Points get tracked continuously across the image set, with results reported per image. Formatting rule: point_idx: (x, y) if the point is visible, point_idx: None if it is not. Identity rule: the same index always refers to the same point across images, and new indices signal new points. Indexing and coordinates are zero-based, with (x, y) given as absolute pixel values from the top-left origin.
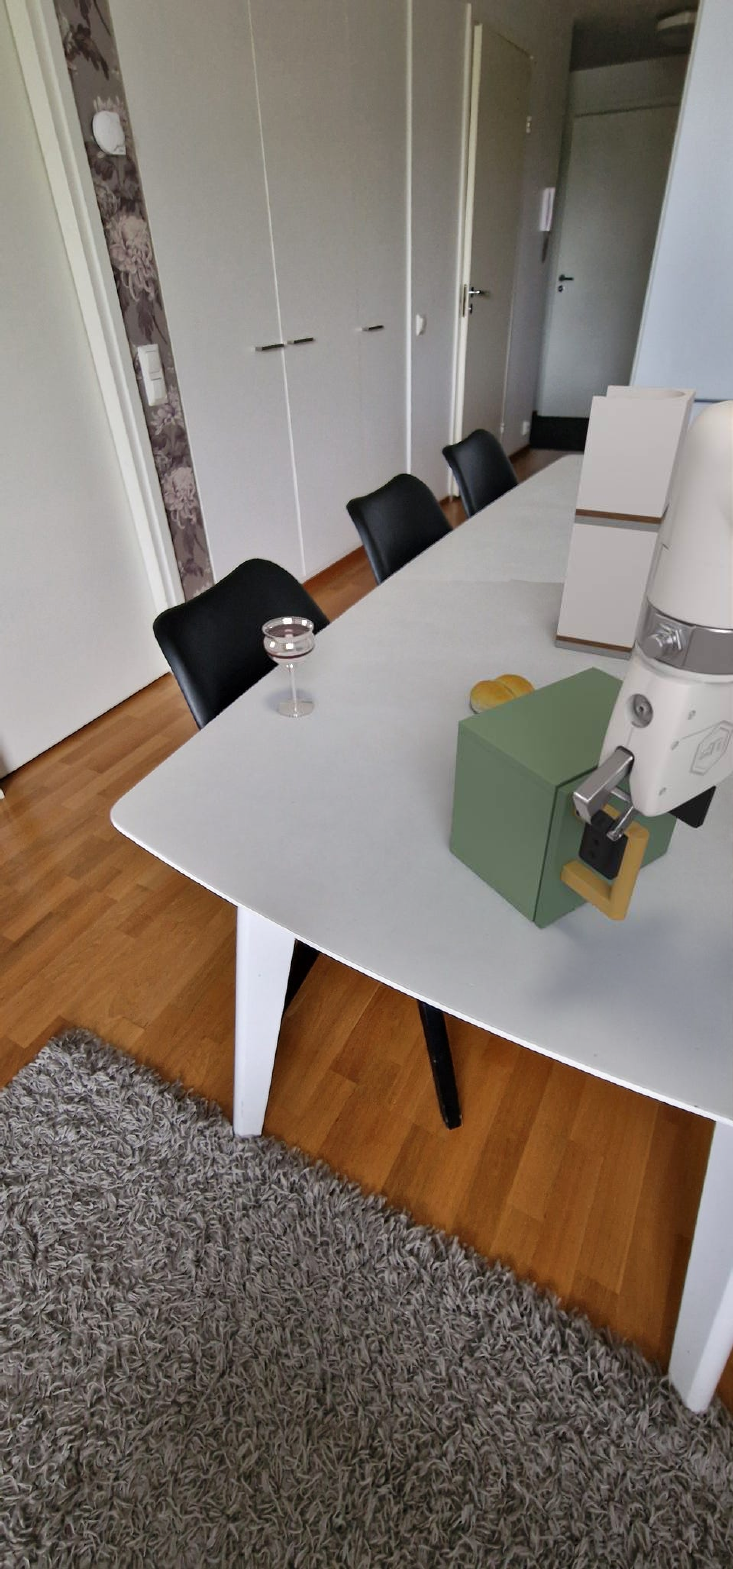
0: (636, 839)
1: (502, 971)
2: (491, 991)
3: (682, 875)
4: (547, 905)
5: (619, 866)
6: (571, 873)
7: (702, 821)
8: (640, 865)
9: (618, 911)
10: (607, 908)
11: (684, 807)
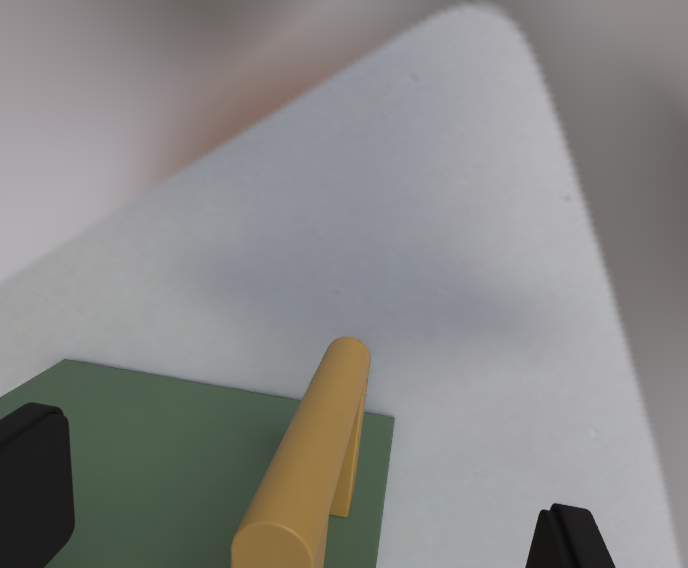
0: (311, 544)
1: (527, 412)
2: (580, 401)
3: (87, 310)
4: (386, 453)
5: (584, 555)
6: (350, 494)
7: (20, 416)
8: (299, 428)
9: (362, 359)
10: (366, 380)
11: (22, 511)
